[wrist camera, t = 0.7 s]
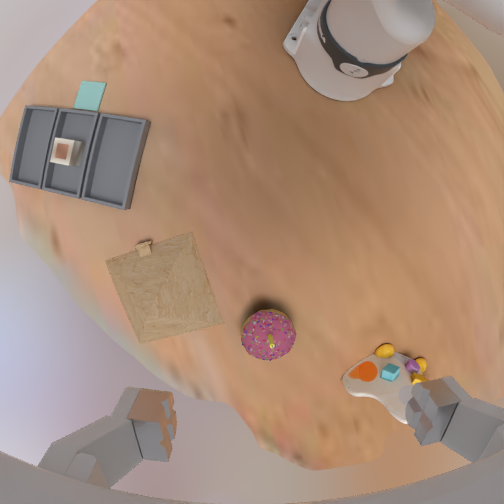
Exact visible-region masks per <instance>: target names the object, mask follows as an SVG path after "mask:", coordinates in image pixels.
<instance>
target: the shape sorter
mask: <svg viewBox="0 0 504 504" xmlns="http://www.w3.org/2000/svg"><path fill="white" fill-rule="evenodd" d="M426 367H427V362H426V360H425V359H423V358H418V359H416V360H413V359H411V358H409V357H407V356H404V355H402V354H399V353H397V352H395V350H394V347H393V346H392V345H390V344H385V345H382V346H380V347H379V348H378V349H377V350H376V351H375V354H373V355H371V356H368V357H366V358H365V359H363V360H361V361H360V362H358V363H357V364H355V365H354V366H353V367H352V368H350V369H349V370H348V371H347V372H346V373H345V374H344V376H343V378H342V380H343V384H344V387H345V389H346V390H347V391H348V392H349V393H350V394H351V395H353V396H367V397H372V398H375V399H377V400H378V401H380V402H381V403H382V404H383V405H384V406H385V407H386V409H387V410H388V411H389V412H390V413H391V415H392V416H394V417H395V418H396V419H397V420H399V421H400V422H402V423H404V424H408V423H407V420H406V417H405V409H406V406H407V403H408V401H409V400H410V399H411V398H412V397H413V396H412V394H411V391H412V388H413V386H414V384H415V383H418V382H424V381H429V380H427V379H426V378H425V377H424V376H423V374H422V373H423V372H424V371H425V370H426Z"/></svg>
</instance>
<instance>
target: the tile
mask: <svg viewBox="0 0 504 504" xmlns="http://www.w3.org/2000/svg"><path fill="white" fill-rule="evenodd" d="M152 242H153V240H150V241H146V242H143V243H140V244H138V245H136V246H135V249H138V250H135V251H132V252H129V253H126V254H123V255H120V256H117V257H115V258H112V259H109V260H106V261H105V262H106V265H107V267H108V270H109V272H110V275H111V278H112V280H113V283H114V285H115V288H116V290H117V292H118V295H119V297H120V300H121V302H122V304H123V307H124V309H125V311H126V314H127V316H128V318H129V320H130V323H131V325H132V327H133V329H134V331H135V334H136V336H137V338H138V340H139V342H140V344H143V343H147V342H151V341H156V340H160V339H164V338H168V337H172V336H176V335H180V334H184V333H188V332H192V331H196V330H200V329H204V328H208V327H212V326H215V325H219V324H223V323H224V321H223V318H222V316H221V313H220V310H219V307H218V305H217V302H216V299H215V296H214V294H213V291H212V288H211V285H210V282H209V280H208V277H207V274H206V271H205V268H204V265H203V262H202V260H201V257H200V254H199V251H198V248H197V245H196V242H195V239H194V236H193V233H192V232H189V233H186V234H183V235H180V236H177V237H174V238H171V239H168V240H165V241H162V242H159V243H156V244H153V245H152V244H151V243H152Z"/></svg>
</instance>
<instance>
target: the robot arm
mask: <svg viewBox="0 0 504 504" xmlns="http://www.w3.org/2000/svg"><path fill="white" fill-rule="evenodd" d="M443 1H445V2H447V3H449V4H450V5H452V6H454V7H455V8H457V9H458V10H460V11H462V12H463V13H465V14H466V15H468V16H470V17H471V18H472V19H474V20H476V21H477V22H478V23H480V24H481V25H483V26H484V27H486V28H487V29H489V30H491V31H493V32H495V33H497V34H498V35H500V36H502V37H504V0H443ZM434 25H435V10H434V6H433V3H432V1H431V0H309V1H308V2H307V4H306V6H305V7H304V9H303V10H302V12H301V14H300V15H299V17H298V19H297V20H296V22H295V23H294V25H293V27H292V28H291V30H290V32H289V34H288V35H287V37H286V39H285V40H284V42H283V47H284V49H285V50H286V51H287V53H288V54H289V55H290V56H292V57H293V58H294V60H295V62H296V64H297V66H298V69H299V71H300V73H301V75H302V76H303V78H304V79H305V81H306V82H307V83H308V84H309V85H310V86H311V87H312V88H313V89H315V90H316V91H317V92H319V93H320V94H322V95H324V96H326V97H329V98H331V99H335V100H340V101H354V100H358V99H361V98H364V97H366V96H367V95H369V94H370V93H371V92H373V91H374V90H375V89H377V88H382V87H387V86H389V85H391V84H392V83H393V81H394V74H395V73H396V72H397V71H398V70H399V69H400V67H401V64H400V63H401V62H402V60H404V58H405V57H406V56H407V54H408V52H410V51H411V50H413V49H414V48H416V47H417V46H418V45H420V44H421V43H423V42H424V41H425V40H427V39H428V38H429V36H430V35H431V33H432V31H433V28H434ZM292 38H295V39H296V40H295V41H294V40H292ZM411 394H412V396H413V397H412V398H411V399H410V400H409V401H408V403H407V406H406V409H405V417H406V420H407V423H408V425H409V426H410V427H412V428H414V429H415V433H414V435H415V437H416V438H417V440H418V441H419V443H420V445H421V446H424V445H428V444H432V443H436V442H440V441H441V443H442V444H444V445H445V446H447V447H448V448H450V449H452V450H453V451H455V452H456V453H458V454H459V455H461V456H463V457H464V458H466V459H467V460H469V461H471V462H472V463H471V464H468V465H466V466H463V467H460V468H458V469H455V470H452V471H449V472H446V473H443V474H441V475H437V476H434V477H431V478H428V479H425V480H421V481H418V482H414V483H411V484H407V485H403V486H399V487H395V488H391V489H386V490H382V491H378V492H372V493H367V494H362V495H357V496H351V497H344V498H338V499H331V500H322V501H314V502H304V503H303V502H302V503H288V504H504V409H503V408H501V407H498V406H495V405H493V404H490V403H487V402H485V401H482V400H479V399H477V398H474V399H472V398H471V397H470V395H469V394H468V393H467V392H466V391H465V390H464V389H463V388H462V387H461V386H460V384H459V383H458V382H457V381H456V380H455V379H454V378H453V377H451V376H447V377H442V378H438V379H435V380H430V381H424V382H418V383H415V384H414V386H413V388H412V391H411ZM173 404H174V399H173V394H172V393H171V392H167V391H159V390H150V389H141V388H134V387H127V388H125V390H124V392H123V393H122V395H121V397H120V399H119V401H118V403H117V405H116V407H115V409H114V411H113V413H112V414H111V416H105V417H103V418H101V419H99V420H97V421H95V422H93V423H91V424H89V425H88V426H85V427H84V428H81V429H80V430H78V431H76V432H74V433H71V434H69V435H67V436H65V437H63V438H61V439H59V440H57V441H55V442H53V443H52V444H51V446H50V447H49V449H48V450H47V452H46V453H45V455H44V457H43V458H42V460H41V462H40V463H39V465H38V466H34V465H32V464H29V463H27V462H25V461H22V460H19V459H17V458H15V457H13V456H10V455H8V454H6V453H4V452H2V451H0V504H212V503H197V502H186V501H177V500H170V499H162V498H155V497H149V496H143V495H138V494H133V493H128V492H123V491H118V490H113V489H110V487H111V486H113V485H114V484H115V483H116V482H118V481H119V480H120V479H121V478H122V477H124V476H125V475H126V474H127V473H128V472H130V471H131V470H132V469H133V468H135V467H136V466H137V465H138V464H139V463H140V462H141V461H143V459H146V460H154V461H163V462H168V461H169V458H170V455H171V451H172V444H171V440H173V439H174V438H175V434H176V425H177V420H176V412H175V411H174V410H173V409H172V407H173Z"/></svg>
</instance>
